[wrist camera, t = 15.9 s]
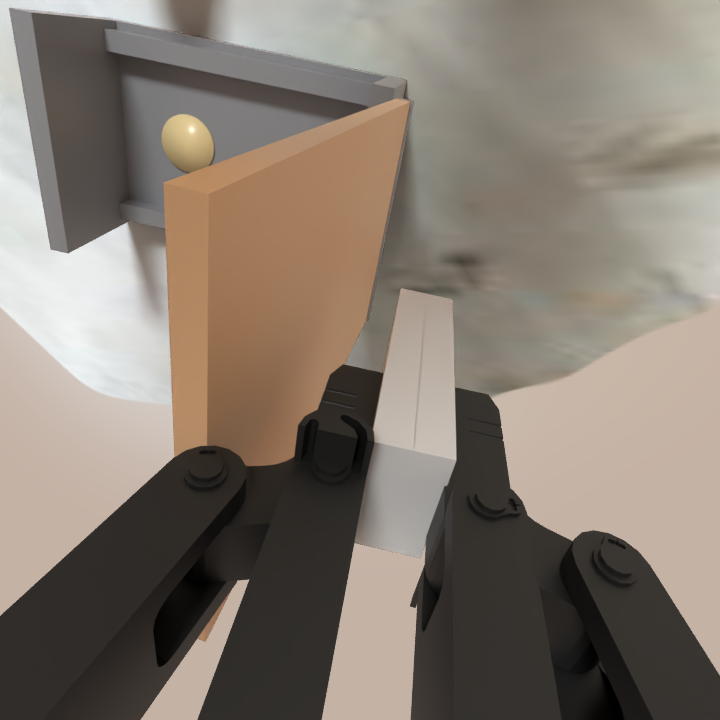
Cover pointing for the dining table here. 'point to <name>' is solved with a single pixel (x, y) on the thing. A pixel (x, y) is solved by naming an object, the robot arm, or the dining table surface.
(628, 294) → the dining table surface
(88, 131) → the housing
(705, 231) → the dining table surface
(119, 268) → the dining table surface
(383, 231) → the tan rectangular panel
